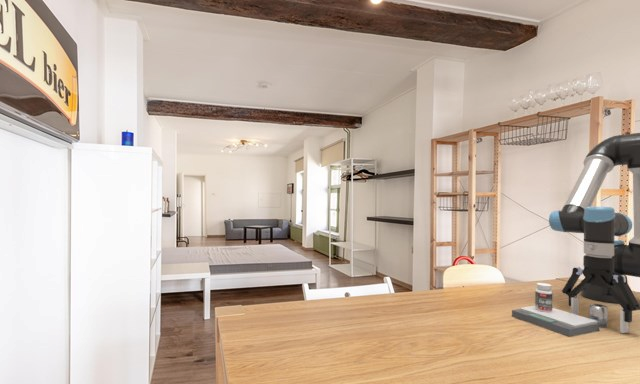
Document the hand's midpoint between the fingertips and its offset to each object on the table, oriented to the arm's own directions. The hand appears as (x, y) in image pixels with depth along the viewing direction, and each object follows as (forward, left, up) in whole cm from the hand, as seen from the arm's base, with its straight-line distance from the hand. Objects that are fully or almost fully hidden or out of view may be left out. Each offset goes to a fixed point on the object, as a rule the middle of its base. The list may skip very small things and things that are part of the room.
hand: (597, 324), depth 108 cm
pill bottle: (+10, -10, +2) cm, 15 cm away
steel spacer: (0, 0, 0) cm, 0 cm away
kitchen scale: (+12, -6, 0) cm, 13 cm away
